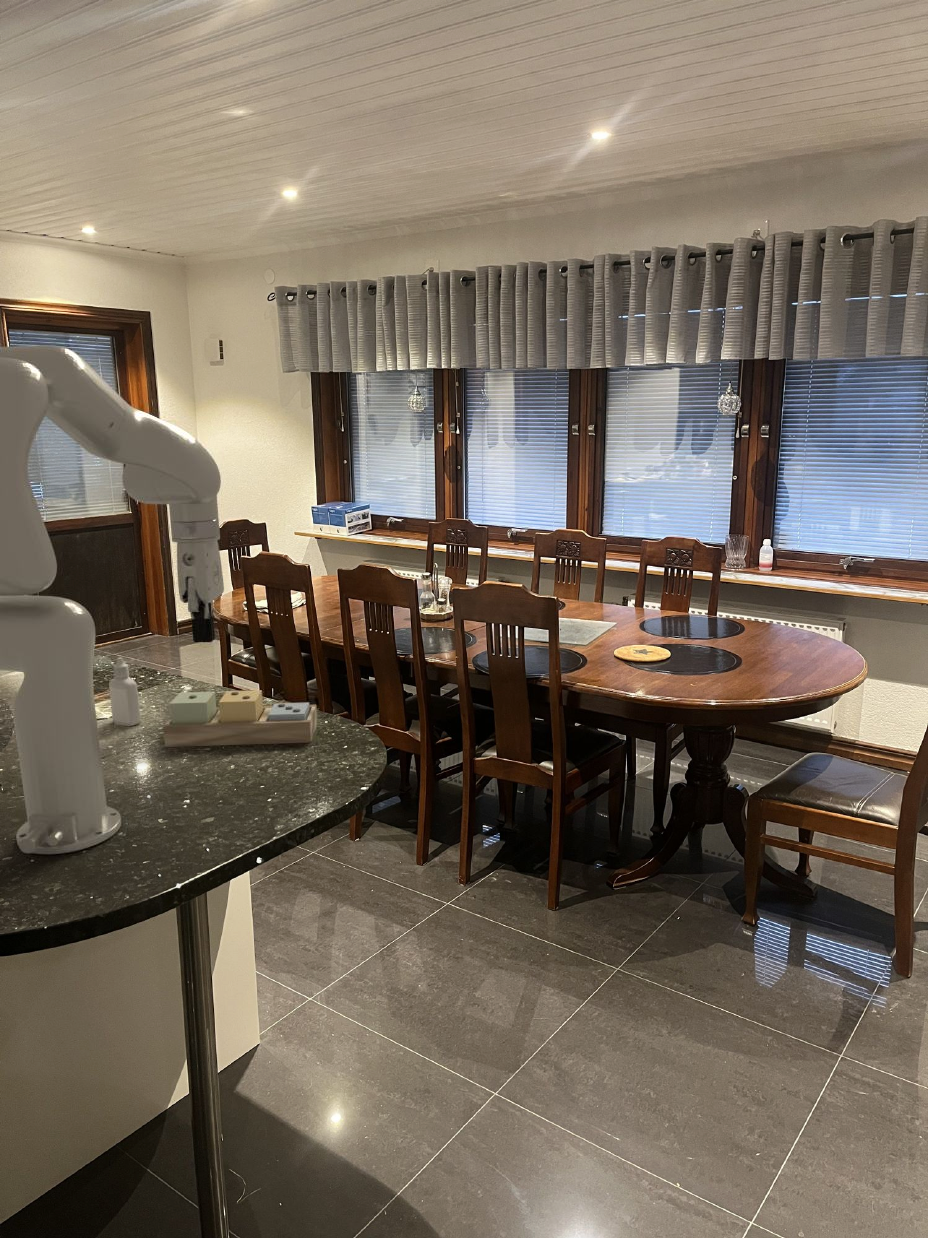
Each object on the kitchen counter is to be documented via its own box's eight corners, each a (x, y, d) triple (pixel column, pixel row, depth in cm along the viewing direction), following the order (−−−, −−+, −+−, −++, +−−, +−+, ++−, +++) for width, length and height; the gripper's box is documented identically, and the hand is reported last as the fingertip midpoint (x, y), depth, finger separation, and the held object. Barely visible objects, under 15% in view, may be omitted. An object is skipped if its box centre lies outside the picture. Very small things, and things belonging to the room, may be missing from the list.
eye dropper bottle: (115, 729, 156) (108, 663, 154) (112, 720, 161) (104, 656, 159) (141, 725, 158) (135, 660, 156) (137, 716, 163) (130, 652, 160)
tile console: (310, 742, 148) (309, 721, 147) (165, 747, 147) (163, 726, 147) (317, 724, 157) (316, 704, 156) (179, 728, 156) (178, 708, 155)
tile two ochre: (256, 722, 149) (255, 699, 148) (220, 723, 148) (218, 701, 148) (263, 710, 154) (261, 689, 154) (228, 711, 154) (226, 690, 153)
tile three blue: (305, 734, 149) (304, 712, 149) (269, 735, 149) (268, 713, 148) (310, 722, 155) (309, 701, 154) (275, 723, 155) (274, 702, 154)
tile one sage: (208, 723, 148) (206, 701, 148) (171, 724, 148) (169, 702, 147) (216, 712, 154) (214, 690, 153) (181, 713, 154) (179, 691, 153)
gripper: (205, 536, 137) (214, 652, 141) (230, 525, 152) (237, 630, 155) (157, 537, 137) (167, 652, 141) (186, 526, 152) (194, 631, 155)
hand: (204, 640), depth 148 cm, fingers closed
